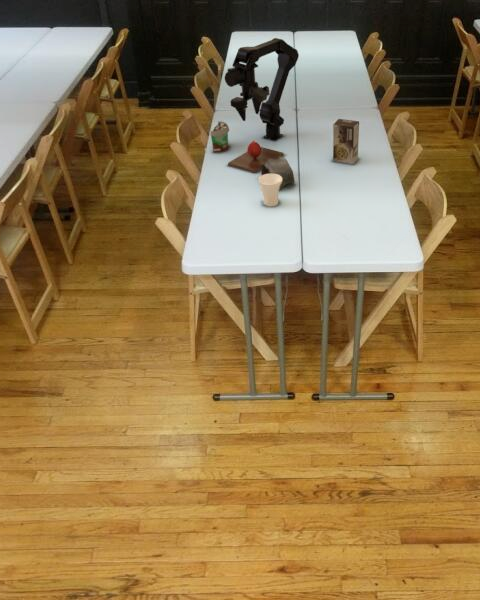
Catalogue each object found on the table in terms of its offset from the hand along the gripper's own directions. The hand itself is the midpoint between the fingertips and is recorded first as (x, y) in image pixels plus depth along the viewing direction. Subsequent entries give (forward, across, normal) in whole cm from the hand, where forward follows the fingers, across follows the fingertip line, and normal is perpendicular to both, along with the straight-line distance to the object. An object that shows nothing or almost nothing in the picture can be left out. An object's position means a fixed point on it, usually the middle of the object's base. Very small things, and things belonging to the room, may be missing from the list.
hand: (250, 117), depth 266 cm
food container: (+13, -8, +10) cm, 18 cm away
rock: (+13, -23, -29) cm, 39 cm away
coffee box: (+13, +8, -42) cm, 45 cm away
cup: (+13, -38, -37) cm, 55 cm away
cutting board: (+13, -11, -10) cm, 20 cm away
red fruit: (+12, -12, -10) cm, 20 cm away
